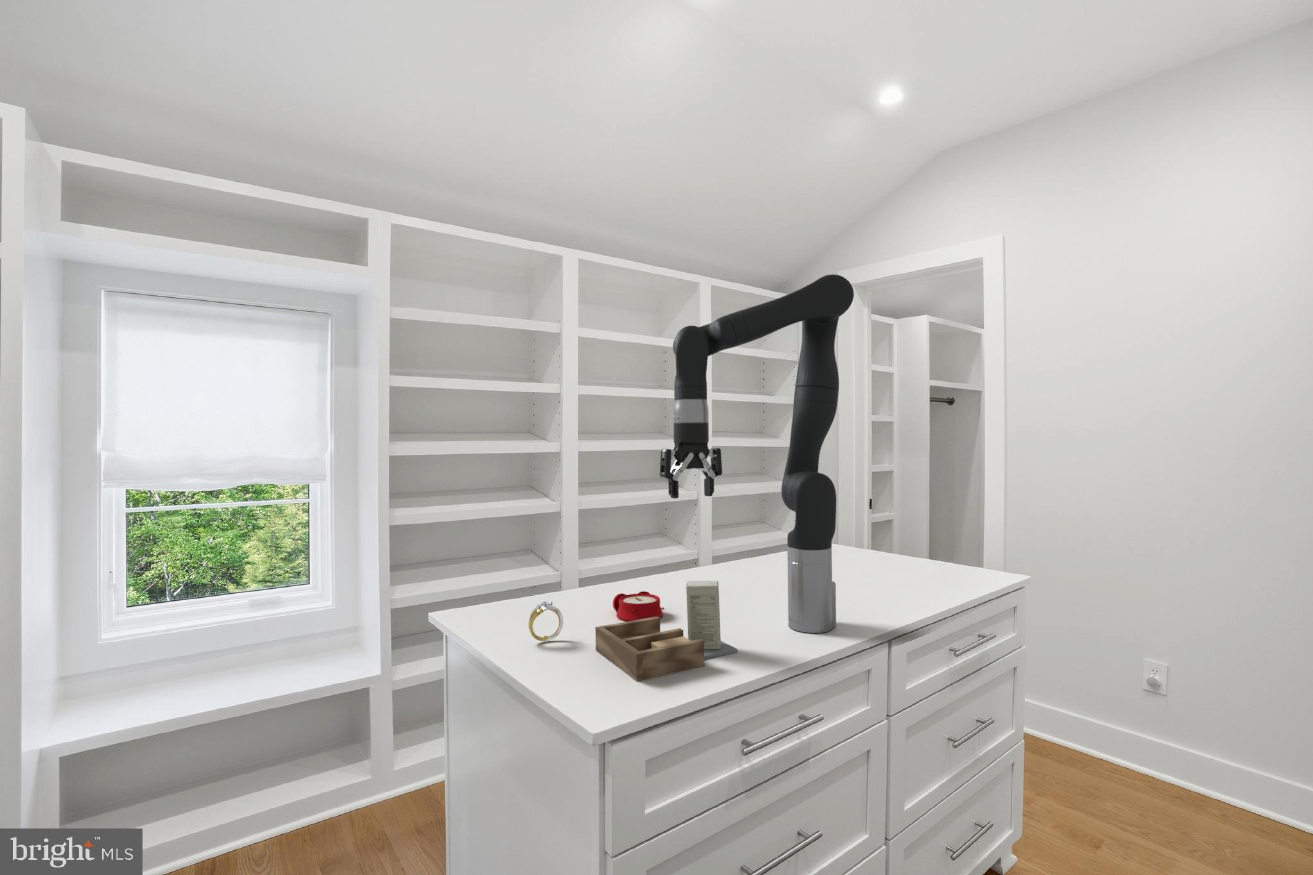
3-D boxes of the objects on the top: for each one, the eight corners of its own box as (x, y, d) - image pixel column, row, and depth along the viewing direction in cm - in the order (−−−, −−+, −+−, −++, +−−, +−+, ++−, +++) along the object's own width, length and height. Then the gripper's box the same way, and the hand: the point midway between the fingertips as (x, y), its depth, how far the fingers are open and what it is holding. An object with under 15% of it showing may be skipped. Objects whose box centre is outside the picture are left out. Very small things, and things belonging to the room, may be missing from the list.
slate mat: (710, 638, 125) (710, 635, 125) (737, 652, 117) (737, 648, 117) (672, 646, 120) (672, 643, 120) (697, 660, 113) (697, 657, 113)
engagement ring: (530, 646, 121) (529, 605, 121) (527, 641, 124) (527, 601, 124) (564, 641, 124) (564, 602, 124) (561, 637, 127) (561, 598, 127)
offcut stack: (687, 656, 116) (686, 634, 116) (700, 664, 112) (700, 642, 112) (649, 664, 112) (649, 642, 112) (661, 672, 108) (661, 649, 108)
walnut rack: (657, 638, 125) (657, 616, 125) (704, 665, 110) (704, 640, 110) (595, 650, 119) (595, 627, 119) (636, 681, 103) (636, 654, 103)
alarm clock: (625, 610, 133) (607, 579, 148) (624, 636, 135) (605, 604, 149) (671, 605, 137) (649, 575, 151) (669, 631, 138) (647, 599, 153)
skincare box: (720, 642, 120) (720, 580, 120) (720, 650, 116) (720, 585, 116) (687, 642, 121) (687, 579, 121) (686, 649, 117) (686, 585, 117)
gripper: (671, 420, 125) (671, 500, 125) (728, 421, 132) (729, 496, 132) (653, 421, 131) (654, 497, 131) (709, 421, 138) (709, 494, 138)
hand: (691, 497), depth 132 cm, fingers open, 8 cm apart
